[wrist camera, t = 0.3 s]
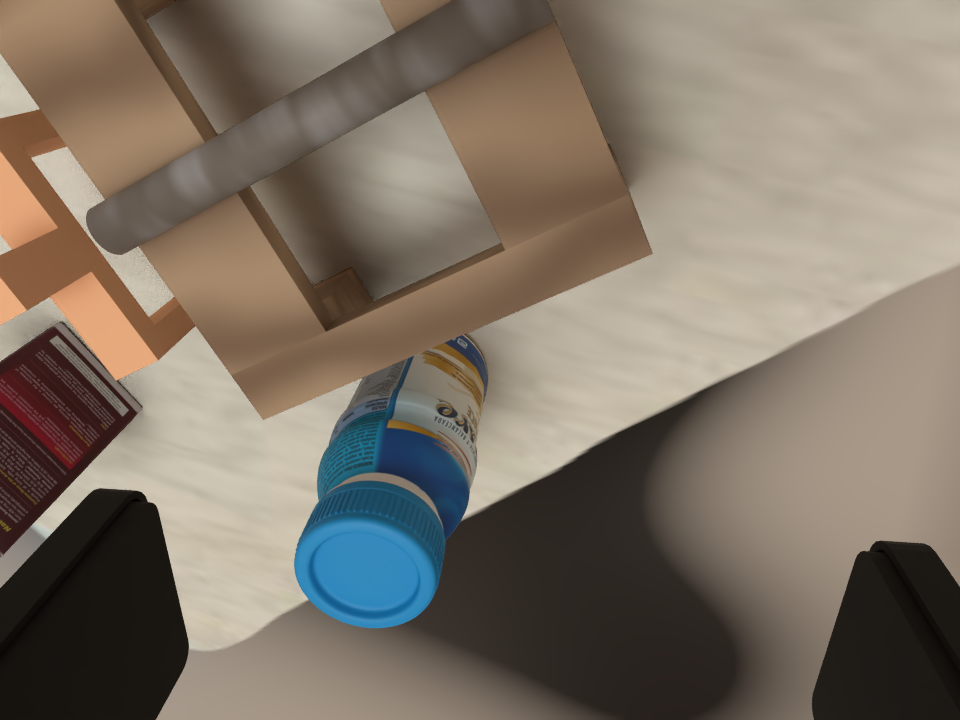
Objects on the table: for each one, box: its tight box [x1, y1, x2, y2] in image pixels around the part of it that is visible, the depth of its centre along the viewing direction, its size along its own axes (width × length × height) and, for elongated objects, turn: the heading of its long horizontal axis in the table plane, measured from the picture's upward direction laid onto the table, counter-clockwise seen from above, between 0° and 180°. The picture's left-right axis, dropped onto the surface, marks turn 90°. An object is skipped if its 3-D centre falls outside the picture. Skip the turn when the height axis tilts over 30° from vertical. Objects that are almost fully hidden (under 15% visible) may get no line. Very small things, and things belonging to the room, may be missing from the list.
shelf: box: [0, 0, 653, 420], centre depth 36 cm, size 24×22×14 cm
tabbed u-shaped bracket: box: [0, 109, 196, 380], centre depth 39 cm, size 14×3×16 cm, turn 27°
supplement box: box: [0, 323, 142, 558], centre depth 46 cm, size 9×5×16 cm, turn 33°
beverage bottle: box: [294, 334, 488, 628], centre depth 42 cm, size 8×8×20 cm
